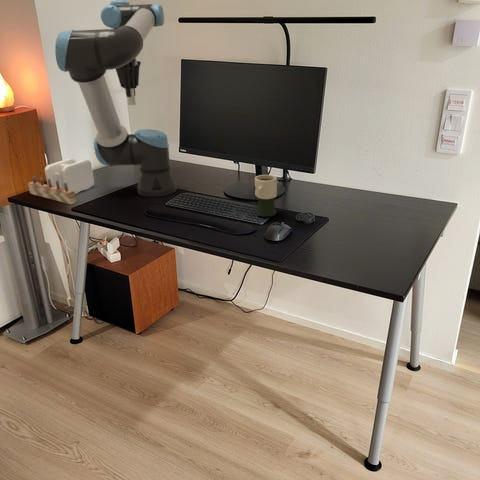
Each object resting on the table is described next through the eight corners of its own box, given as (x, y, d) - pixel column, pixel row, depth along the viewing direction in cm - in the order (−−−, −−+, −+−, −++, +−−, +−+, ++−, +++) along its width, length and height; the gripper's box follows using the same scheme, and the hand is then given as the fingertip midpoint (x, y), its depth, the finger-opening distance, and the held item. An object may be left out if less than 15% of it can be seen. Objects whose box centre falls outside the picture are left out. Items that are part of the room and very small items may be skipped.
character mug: (263, 208, 169) (262, 172, 164) (282, 211, 166) (282, 174, 161) (249, 219, 160) (248, 181, 155) (269, 222, 157) (268, 183, 152)
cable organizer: (67, 197, 188) (62, 168, 183) (48, 194, 192) (42, 165, 188) (95, 186, 200) (90, 158, 195) (76, 183, 204) (71, 156, 200)
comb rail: (76, 202, 182) (73, 183, 179) (71, 204, 180) (67, 185, 177) (35, 191, 196) (31, 173, 193) (30, 193, 194) (26, 175, 191)
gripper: (130, 43, 202) (137, 102, 211) (105, 44, 192) (114, 106, 201) (143, 42, 198) (149, 103, 207) (118, 44, 188) (126, 107, 197)
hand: (132, 104), depth 204 cm, fingers closed
